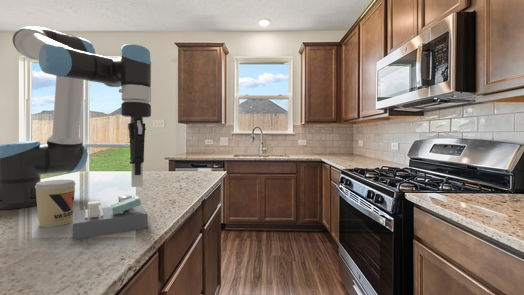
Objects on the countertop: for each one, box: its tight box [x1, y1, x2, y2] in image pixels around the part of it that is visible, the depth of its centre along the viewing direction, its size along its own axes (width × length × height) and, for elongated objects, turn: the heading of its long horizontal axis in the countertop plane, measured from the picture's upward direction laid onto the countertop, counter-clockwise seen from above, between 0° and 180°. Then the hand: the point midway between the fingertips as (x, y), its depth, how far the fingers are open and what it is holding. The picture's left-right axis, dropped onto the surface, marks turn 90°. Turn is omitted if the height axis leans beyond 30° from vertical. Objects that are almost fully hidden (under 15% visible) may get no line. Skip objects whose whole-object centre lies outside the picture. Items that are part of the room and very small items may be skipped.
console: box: [72, 204, 149, 241], centre depth 75 cm, size 13×17×5 cm
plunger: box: [118, 195, 133, 203], centre depth 80 cm, size 4×4×3 cm
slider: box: [87, 200, 102, 218], centre depth 70 cm, size 3×3×4 cm
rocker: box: [110, 195, 142, 214], centre depth 74 cm, size 4×7×2 cm, turn 123°
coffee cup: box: [35, 179, 76, 228], centre depth 78 cm, size 9×9×12 cm
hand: (137, 186), depth 75 cm, fingers closed
